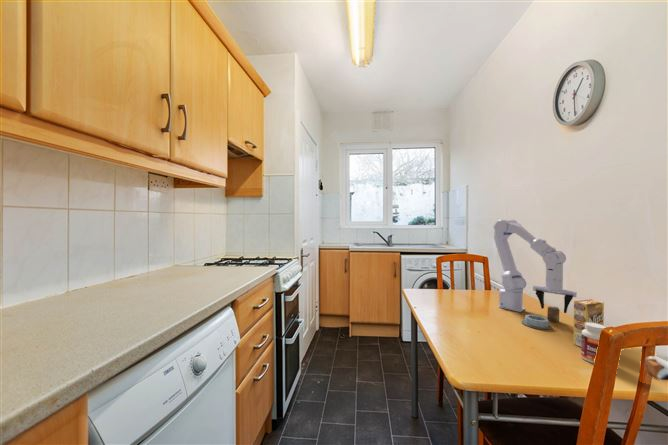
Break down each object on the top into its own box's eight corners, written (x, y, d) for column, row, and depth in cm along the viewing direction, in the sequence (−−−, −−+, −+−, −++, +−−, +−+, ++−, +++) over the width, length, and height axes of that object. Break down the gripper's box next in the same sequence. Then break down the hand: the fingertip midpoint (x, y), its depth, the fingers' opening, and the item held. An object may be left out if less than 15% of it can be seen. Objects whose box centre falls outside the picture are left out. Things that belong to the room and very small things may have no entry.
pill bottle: (585, 363, 82) (586, 326, 82) (577, 353, 87) (577, 320, 87) (613, 367, 79) (613, 330, 79) (602, 358, 85) (603, 323, 85)
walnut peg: (546, 320, 117) (546, 306, 117) (548, 318, 120) (548, 305, 120) (558, 323, 114) (558, 309, 114) (559, 321, 117) (560, 307, 117)
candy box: (586, 349, 90) (587, 304, 90) (572, 344, 94) (573, 300, 94) (604, 346, 93) (605, 302, 93) (589, 341, 97) (590, 298, 97)
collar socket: (519, 324, 112) (519, 317, 112) (524, 318, 119) (524, 312, 118) (549, 332, 104) (549, 324, 104) (553, 325, 111) (553, 318, 111)
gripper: (531, 277, 119) (531, 308, 119) (575, 283, 109) (575, 316, 109) (534, 275, 124) (534, 304, 124) (577, 280, 114) (576, 312, 114)
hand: (553, 310), depth 117 cm, fingers open, 7 cm apart
